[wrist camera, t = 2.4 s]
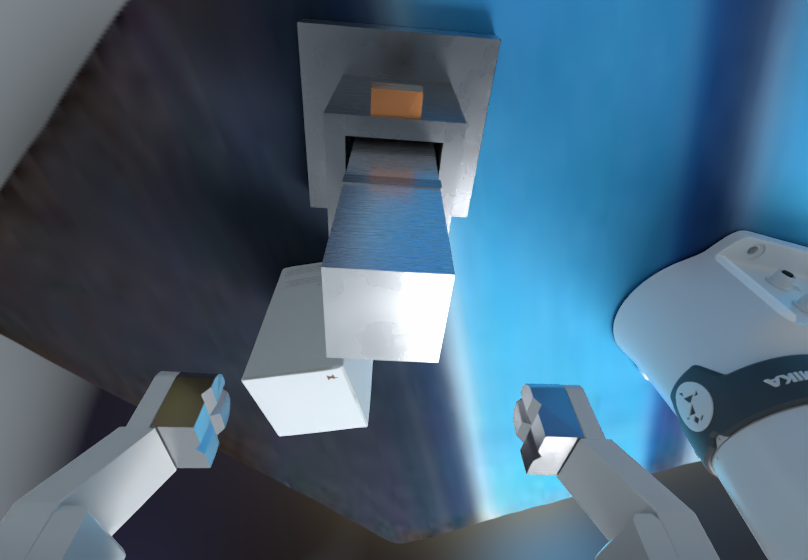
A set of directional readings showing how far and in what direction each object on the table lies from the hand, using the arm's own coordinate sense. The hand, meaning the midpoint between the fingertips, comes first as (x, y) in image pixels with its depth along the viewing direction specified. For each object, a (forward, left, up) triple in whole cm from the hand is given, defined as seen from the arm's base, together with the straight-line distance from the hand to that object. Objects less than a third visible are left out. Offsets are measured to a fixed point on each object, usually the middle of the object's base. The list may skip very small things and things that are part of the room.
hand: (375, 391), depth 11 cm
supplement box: (+5, +16, -23) cm, 29 cm away
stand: (0, 0, -23) cm, 23 cm away
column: (0, 0, -21) cm, 21 cm away
